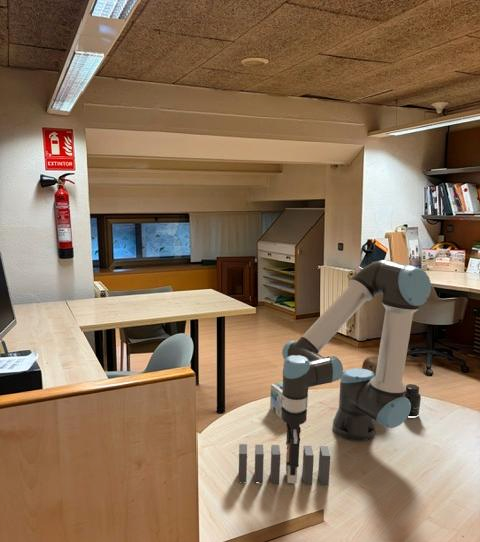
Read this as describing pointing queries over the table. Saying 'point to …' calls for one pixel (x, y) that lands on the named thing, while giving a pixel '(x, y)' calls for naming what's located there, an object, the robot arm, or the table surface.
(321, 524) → the table surface
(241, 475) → the domino
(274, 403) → the light bulb box
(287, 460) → the domino
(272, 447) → the domino
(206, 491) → the table surface
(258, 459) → the domino
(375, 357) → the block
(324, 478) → the domino
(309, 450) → the domino
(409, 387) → the supplement bottle
